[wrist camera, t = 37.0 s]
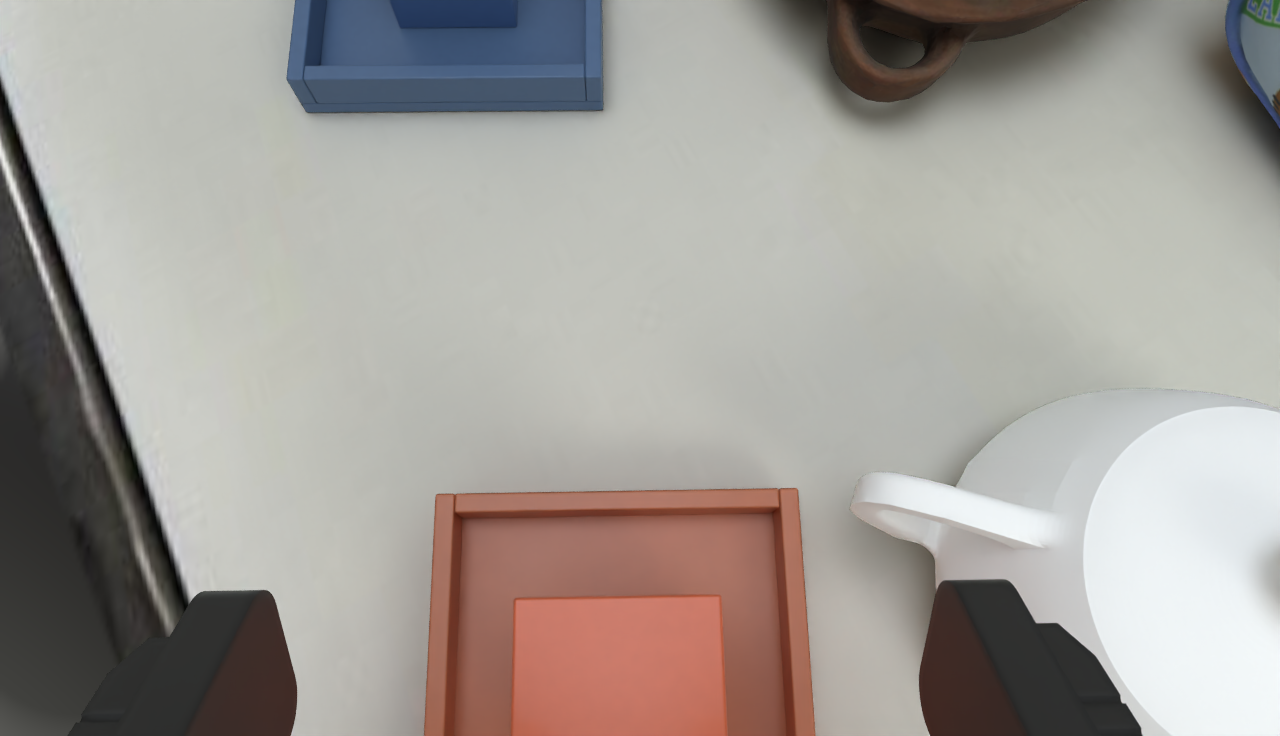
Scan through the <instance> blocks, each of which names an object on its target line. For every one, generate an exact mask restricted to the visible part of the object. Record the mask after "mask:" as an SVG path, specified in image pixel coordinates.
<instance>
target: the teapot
mask: <svg viewBox="0 0 1280 736" xmlns="http://www.w3.org/2000/svg"><path fill="white" fill-rule="evenodd" d="M849 510H850V511H852V512H853V513H854V514H855V515H856V516H857V517H858V518H859V519H861V520H863V521H865V522H867V523H868V524H870V525H872V526H874V527H876V528H878V529H880V530H882V531H883V532H885V533H887V534H889V535H891V536H893V537H895V538H898V539H903V540H907V541H911V542H915V543H919V544H920V545H922V546H924V547H925V548H926V549H928V550H929V551H930V552H931V553H932V555H933V556H934V559H935V582H936V592H937V588H938V586H939V584H940V583H941V582H942V581H943V580H980V579H1006V580H1008V581H1010V582H1011V583H1012V584H1013V585H1014V587H1015V588H1016V590H1017V591H1018V593H1019V595H1020V596H1021V598H1022V600H1023V601H1024V603H1025V605H1026V607H1027V608H1028V610H1029V612H1030V614H1031V615H1032V617H1033V619H1034V620H1035V622H1036V623H1058V624H1059V625H1060V626H1062V627H1063V628H1064V629H1065V630H1066V631H1067V632H1068V633H1070V634H1071V635H1072V636H1073V637H1074V638H1075V639H1077V640H1078V641H1079V642H1080V643H1081V644H1082V645H1084V646H1085V647H1086V648H1087V649H1088V650H1089V651H1091V652H1092V653H1093V654H1094V655H1095V656H1096V657H1097V659H1098V660H1099V662H1100V663H1101V665H1102V667H1103V668H1104V670H1105V671H1106V673H1107V674H1108V676H1109V678H1110V679H1111V681H1112V682H1113V684H1114V686H1115V687H1116V689H1117V690H1118V692H1119V693H1120V695H1121V697H1120V698H1121V702H1122V703H1126V704H1127V706H1128V708H1129V709H1130V711H1131V712H1132V714H1133V716H1134V717H1135V719H1136V720H1137V722H1138V723H1139V725H1140V727H1141V728H1142V729H1141V732H1142V735H1143V736H1280V409H1278V408H1275V407H1272V406H1269V405H1266V404H1263V403H1259V402H1256V401H1252V400H1248V399H1244V398H1239V397H1234V396H1229V395H1223V394H1216V393H1208V392H1199V391H1188V390H1173V389H1146V388H1136V389H1114V390H1103V391H1096V392H1090V393H1084V394H1079V395H1075V396H1071V397H1067V398H1063V399H1060V400H1057V401H1054V402H1051V403H1049V404H1046V405H1044V406H1041V407H1039V408H1037V409H1035V410H1033V411H1031V412H1029V413H1027V414H1025V415H1024V416H1022V417H1020V418H1019V419H1017V420H1016V421H1014V422H1013V423H1011V424H1010V425H1008V426H1007V427H1006V428H1004V429H1003V430H1002V431H1001V432H999V433H998V434H997V435H996V436H995V437H994V438H993V439H992V440H991V441H989V442H988V443H987V444H986V445H985V446H984V447H983V448H982V450H981V451H980V452H979V453H978V454H977V455H976V456H975V457H974V458H973V459H972V460H971V461H970V462H969V463H968V465H967V467H966V469H965V471H964V472H963V474H962V476H961V478H960V480H959V482H958V483H957V485H956V487H954V486H950V485H946V484H943V483H939V482H935V481H931V480H927V479H923V478H919V477H914V476H910V475H905V474H899V473H892V472H872V473H868V474H865V475H863V476H862V477H861V478H860V479H859V480H858V482H857V484H856V487H855V492H854V496H853V500H852V503H851V506H850V509H849Z"/></svg>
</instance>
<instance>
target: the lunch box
mask: <svg viewBox="0 0 1280 736" xmlns="http://www.w3.org/2000/svg"><path fill="white" fill-rule="evenodd" d="M1225 31H1226V36H1227V42H1228V46H1229V49H1230V52H1231V54H1232V57H1233V59H1234V61H1235V63H1236V65H1237V67H1238V69H1239V71H1240V73H1241V75H1242V76H1243V78H1244V79H1245V81H1246V83H1247V84H1248V85H1249V87H1250V88H1251V89H1252V90H1253V92H1254V93H1255V94H1256V95H1257V97H1258V98H1259V100H1260V101H1261V102H1262V104H1263V105H1264V107H1265V108H1266V109H1267V111H1268V112H1269V114H1270V115H1271V116H1272V118H1273V119H1274V121H1275V122H1276V124H1277V125H1278V126H1279V128H1280V0H1229V2H1228V5H1227V10H1226V15H1225Z"/></svg>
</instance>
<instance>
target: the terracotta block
mask: <svg viewBox="0 0 1280 736" xmlns="http://www.w3.org/2000/svg"><path fill="white" fill-rule="evenodd" d="M510 736H728V728H727V705H726V682H725V659H724V635H723V612H722V597H721V595H719V594H688V595H630V596H573V597H517V598H515V599H514V601H513V639H512V682H511V725H510Z"/></svg>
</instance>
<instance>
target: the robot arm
mask: <svg viewBox="0 0 1280 736" xmlns="http://www.w3.org/2000/svg"><path fill="white" fill-rule="evenodd" d="M919 691H920V700H921V707H922V711H923V716H924V719H925V722H926V725H927V728H928V731H929V734H930V736H1143V735H1142V732H1141V729H1142V728H1141V727H1140V725H1139V723H1138V722H1137V720H1136V719H1135V717H1134V716H1133V714H1132V712H1131V711H1130V709H1129V708H1128V706H1127V704H1126V703H1122V702H1121V698H1120V697H1121V695H1120V693H1119V692H1118V690H1117V689H1116V687H1115V686H1114V684H1113V682H1112V681H1111V679H1110V678H1109V676H1108V674H1107V673H1106V671H1105V670H1104V668H1103V667H1102V665H1101V663H1100V662H1099V660H1098V659H1097V657H1096V656H1095V655H1094V654H1093V653H1092V652H1091V651H1089V650H1088V649H1087V648H1086V647H1085V646H1084V645H1082V644H1081V643H1080V642H1079V641H1078V640H1077V639H1075V638H1074V637H1073V636H1072V635H1071V634H1070V633H1068V632H1067V631H1066V630H1065V629H1064V628H1063V627H1062V626H1060V625H1059V624H1058V623H1036V622H1035V620H1034V619H1033V617H1032V615H1031V614H1030V612H1029V610H1028V608H1027V607H1026V605H1025V603H1024V601H1023V600H1022V598H1021V596H1020V595H1019V593H1018V591H1017V590H1016V588H1015V587H1014V585H1013V584H1012V583H1011V582H1010V581H1008V580H1006V579H980V580H943V581H942V582H941V583H940V584H939V586H938V588H937V592H936V595H935V600H934V605H933V610H932V614H931V619H930V624H929V629H928V633H927V638H926V643H925V647H924V652H923V657H922V662H921V666H920V674H919ZM296 707H297V685H296V679H295V674H294V670H293V667H292V663H291V659H290V655H289V651H288V648H287V644H286V640H285V636H284V632H283V629H282V625H281V621H280V617H279V613H278V610H277V606H276V602H275V599H274V597H273V595H272V594H271V593H270V592H269V591H267V590H248V591H203V592H200V593H199V594H197V595H196V596H195V597H194V598H193V599H192V601H191V602H190V604H189V605H188V607H187V609H186V610H185V612H184V614H183V615H182V617H181V619H180V620H179V622H178V624H177V625H176V627H175V629H174V630H173V632H172V634H171V635H170V637H167V638H148V639H147V640H146V641H145V642H144V643H143V644H141V645H140V646H139V647H138V648H137V649H136V650H134V651H133V652H132V653H131V654H130V655H129V656H128V657H126V658H125V659H124V660H123V661H122V662H121V663H119V664H118V665H117V666H116V667H115V668H114V669H112V670H111V671H110V672H109V673H108V674H107V676H106V677H105V679H104V680H103V682H102V683H101V685H100V687H99V688H98V690H97V691H96V693H95V694H94V696H93V697H92V699H91V701H90V702H89V703H88V705H87V707H86V708H85V710H84V711H83V713H82V714H81V715H82V719H81V721H80V723H76V724H75V725H74V727H73V728H72V730H71V731H70V733H69V734H68V736H290V735H291V732H292V729H293V725H294V720H295V715H296Z"/></svg>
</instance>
